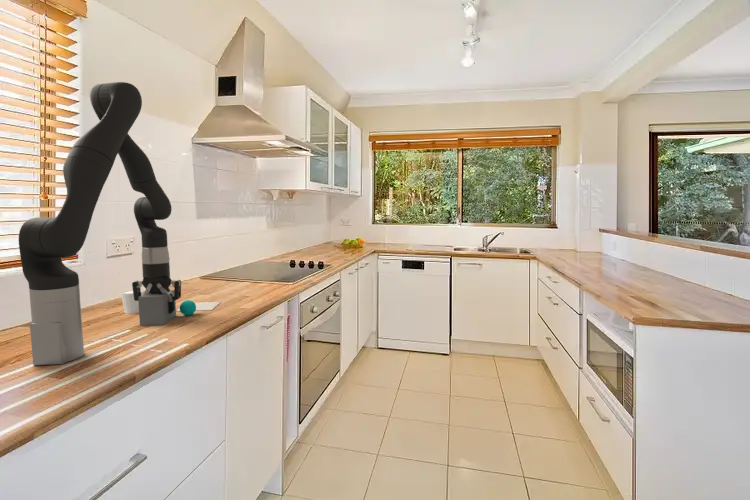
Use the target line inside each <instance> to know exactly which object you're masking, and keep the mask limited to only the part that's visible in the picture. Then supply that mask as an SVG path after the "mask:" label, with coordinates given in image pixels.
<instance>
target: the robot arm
mask: <svg viewBox="0 0 750 500" xmlns="http://www.w3.org/2000/svg"><path fill="white" fill-rule="evenodd" d="M89 100H90V104H91V106H92V109H93V111H94V113H95V115H96V116H97V118H98V120H99V121H98V122H97V123H96V124H95V125H94V126H93V127H91V128H90V129H88V130H87V131H85V133H83V134H82V135H81V136H80V137H79V138H78V139H76V141H75V142H74V144H73V146H71V148H70V150H69V152H68V155H67V156H66V158H65V161H64V164H63V166H62V167H63V169H62V170H63V171H62V172H63V173H62V174H63V179H64V183H65V186H66V197H65V200H64V203H63V205H62V207H61V209H60V211H59V212H58V214H57V215H56V216H55V217H54V216H53V217H51V216H50V217H48V216H47V217H46V216H45V217H43V216H41V217H39V216H37V217H32V218H29V219H28V220H26V221H24V222H23V224H22V225H21V227H20V228H19V232H18V248H19V256H20V262H21V268H22V273H23V276H24V279H26V281H27V282H28V283H27V284H28V292H29V302H30V303H29V304H30V316H31V323H30V324H29V333H30V341H31V342H30V343H31V354H32V365H33V366H46V365H63V364H65V363H68V362H71V361H74V360H77V359H80V358H81V357H83V356H84V355H85V349H84V348H85V347H84V345H85V344H84V335H83V334H84V333H83V320H82V305H81V294H80V279H79V274H78V272H76V271H74V270H72V269H70V268H69V267H67V266H66V264H64V263H63V260H62V258H63V259H64V258H70V257H73V256H75V255H77V254H78V253H79V252H80V250H81V249H82V248H83V246H84V244H85V241H86V239H87V236H88V232H89V229H90V226H91V222H92V219H93V218H92V217H93V216H94V215H93V214H94V211H95V209H96V207H97V203H98V201H99V199H100V196H101V194H102V193H101V192H102V190H103V187H104V186H105V183H106V181H107V180H108V178H109V175H110V173H111V170H112V169H113V166H114V164H115V161H116V158H117V155H118V156H119V158H120V161H121V163H122V165H123V168H124V170H125V173H126V176H127V178H128V182H129V184H130V186H131V189H132V190H133V191H135V192H138V193H141V194H143V195H144V196H141V197H139V198H138V199H136V200H135V202H134V205H133V213H134V214H133V215H134V218H135V221H136V222H137V226H138V229H139V232H140V235H141V246H142V247H141V267H142V280H140V281H139V280H135V281H133V282H132V283H131V285H132V290H133V295H134V300H135V301H138V297H140V296H141V290H142V289H141V288H142V286H143V287H144V288H145V290H144V294H143V295H148V294H149V293H151V294H155V293H158V294H162V293H163V294H167V296H168V301H169V302H168V312H169V314H171V313H173V311H174V310H175V300H176V301H177V300H179V299H181V298H182V280H180V279H177V280H172V279H171V269H170V259H171V257H170V252H169V247H168V232H167V230H166V229H165V228H163V227H160V226H158V225H157V223H156V220H157V221H163V220H166V219H168V218H169V217H170V216H171V214H172V209H173V208H172V204H171V201H170V199H169V197H168V196H167V194H166V193H165V191H164V190H163V188H162V187H161V185H160V184H159V182H158V181H157V177H156V175H155V172H154V168H153V165H152V163H151V161H150V159H149V158H148V156H147V154H146V153H145V152H144V150H143V149H142V148H141V147H140V146H139V145H138V144H137V143H136V142H135V140H134V139H132V137H131V135H129V131H130V130H131V129H132V127H133V125H134V123H135V122H136V121H137V118H138V117H139V115H140V113H141V111H142V106H143V101H142V95H141V93H140V90H139V89H138V88H137V87H136V86H135V85H134V84H132V83H129V82H123V81H117V82H107V83H97V84H95V85H93V86H92V87H91V88H90V92H89ZM171 285H172V287H173V288H174V289H173V290H174V296H173V294H172V291H171V290H172V289H170V286H171Z"/></svg>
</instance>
